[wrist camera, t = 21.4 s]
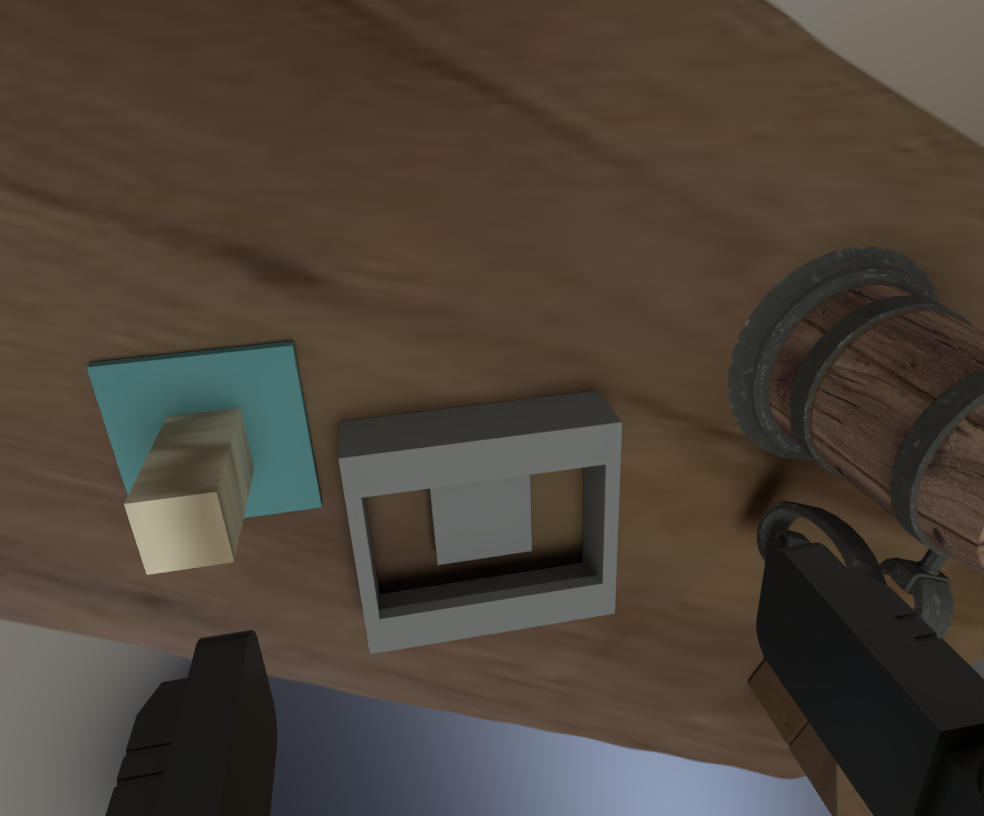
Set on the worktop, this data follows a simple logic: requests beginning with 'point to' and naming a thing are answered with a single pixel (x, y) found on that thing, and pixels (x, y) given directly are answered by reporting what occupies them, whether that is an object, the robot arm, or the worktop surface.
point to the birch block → (192, 492)
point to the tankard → (871, 410)
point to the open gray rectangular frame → (485, 512)
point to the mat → (209, 387)
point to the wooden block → (807, 746)
